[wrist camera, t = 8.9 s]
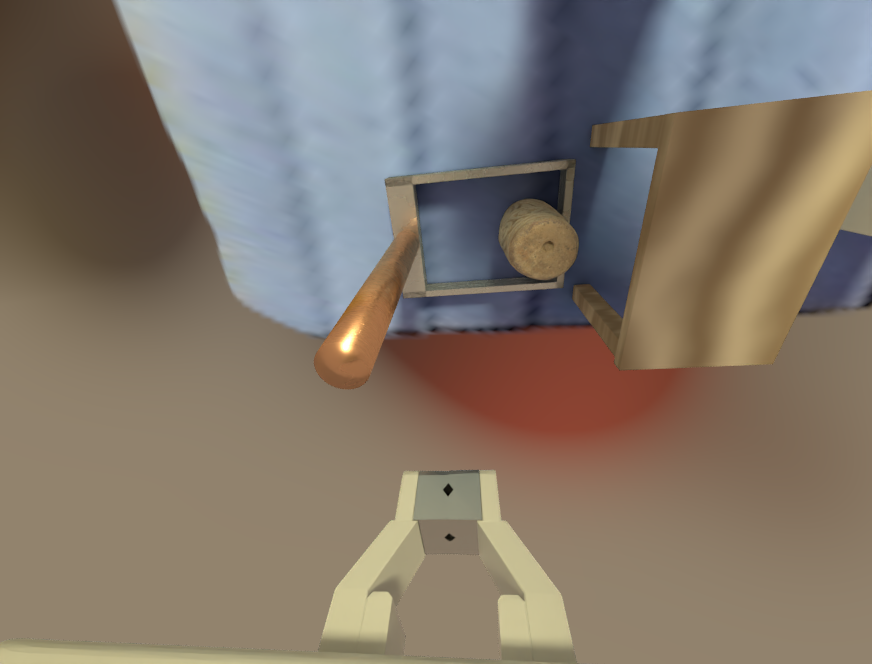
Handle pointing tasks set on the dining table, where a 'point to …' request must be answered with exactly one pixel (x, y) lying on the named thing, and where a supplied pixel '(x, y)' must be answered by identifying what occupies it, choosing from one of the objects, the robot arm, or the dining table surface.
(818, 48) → the dining table surface
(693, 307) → the tunnel
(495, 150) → the dining table surface
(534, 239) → the carving
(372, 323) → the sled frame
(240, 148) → the dining table surface
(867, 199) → the milk carton
